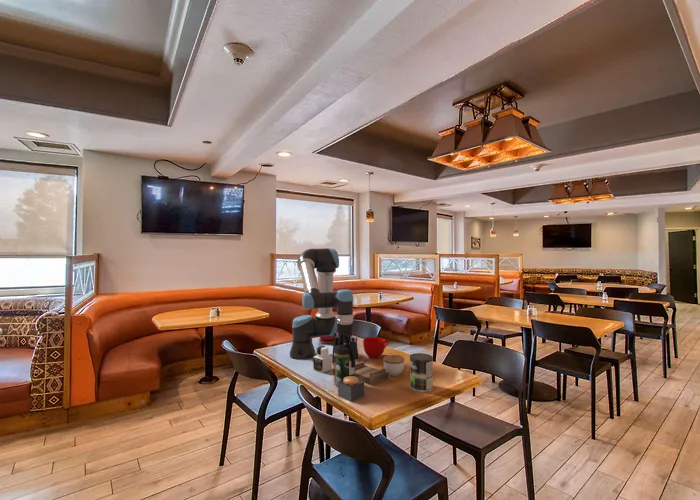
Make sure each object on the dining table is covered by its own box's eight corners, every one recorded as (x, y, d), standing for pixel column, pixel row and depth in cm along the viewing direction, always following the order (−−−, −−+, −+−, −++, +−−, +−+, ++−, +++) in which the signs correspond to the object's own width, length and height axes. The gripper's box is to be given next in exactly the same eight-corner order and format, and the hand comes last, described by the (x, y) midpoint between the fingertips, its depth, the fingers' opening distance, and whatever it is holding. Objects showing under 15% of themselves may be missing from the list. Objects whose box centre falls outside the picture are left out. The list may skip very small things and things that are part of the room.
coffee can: (415, 393, 146) (415, 360, 147) (406, 384, 157) (406, 354, 157) (437, 390, 149) (436, 358, 149) (426, 382, 159) (426, 352, 159)
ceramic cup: (394, 356, 198) (394, 339, 199) (372, 362, 189) (372, 344, 189) (380, 351, 209) (380, 335, 209) (358, 356, 200) (358, 339, 200)
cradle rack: (345, 375, 168) (345, 365, 168) (362, 369, 176) (362, 360, 176) (372, 385, 155) (372, 375, 155) (389, 379, 163) (388, 368, 163)
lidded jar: (392, 368, 178) (392, 350, 178) (408, 373, 170) (408, 355, 171) (379, 373, 171) (378, 355, 171) (395, 379, 163) (395, 359, 163)
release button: (340, 395, 144) (340, 378, 144) (351, 391, 149) (351, 375, 149) (350, 400, 140) (350, 382, 140) (361, 395, 144) (361, 378, 144)
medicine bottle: (313, 370, 177) (313, 347, 177) (323, 366, 182) (323, 344, 182) (322, 373, 172) (322, 349, 172) (332, 369, 177) (332, 346, 177)
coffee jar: (348, 378, 163) (348, 340, 163) (358, 384, 157) (358, 344, 156) (331, 383, 157) (331, 344, 157) (340, 389, 151) (340, 348, 151)
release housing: (338, 396, 144) (337, 382, 144) (351, 390, 150) (351, 377, 150) (350, 401, 139) (350, 387, 139) (364, 396, 144) (364, 382, 144)
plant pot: (340, 343, 229) (340, 325, 229) (323, 345, 223) (323, 327, 223) (332, 338, 240) (331, 322, 241) (315, 341, 234) (315, 324, 234)
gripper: (324, 321, 162) (325, 368, 162) (354, 327, 147) (355, 379, 147) (336, 318, 167) (336, 364, 167) (366, 325, 152) (367, 375, 152)
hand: (345, 371), depth 157 cm, fingers closed on coffee jar, 8 cm apart
